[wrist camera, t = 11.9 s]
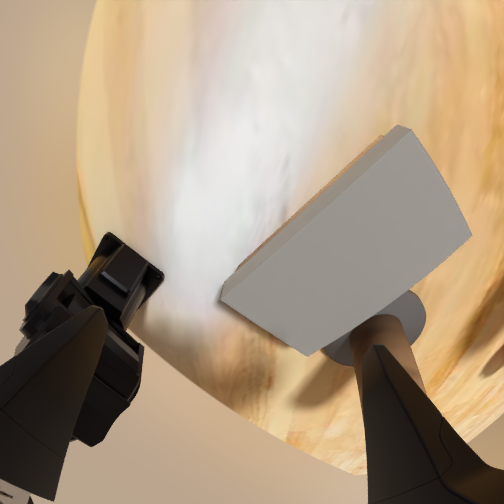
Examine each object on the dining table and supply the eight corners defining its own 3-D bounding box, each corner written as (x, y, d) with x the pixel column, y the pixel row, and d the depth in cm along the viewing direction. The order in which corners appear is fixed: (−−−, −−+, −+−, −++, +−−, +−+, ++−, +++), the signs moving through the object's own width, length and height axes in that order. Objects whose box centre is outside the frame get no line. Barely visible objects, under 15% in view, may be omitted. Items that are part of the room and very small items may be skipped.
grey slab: (304, 319, 26) (307, 356, 22) (229, 263, 23) (220, 299, 19) (444, 209, 19) (472, 235, 15) (383, 120, 16) (411, 129, 12)
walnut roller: (366, 358, 27) (387, 468, 16) (337, 336, 25) (355, 464, 14) (409, 330, 25) (446, 443, 14) (385, 304, 23) (427, 436, 12)
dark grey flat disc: (359, 372, 30) (360, 377, 29) (299, 332, 26) (299, 338, 26) (436, 322, 25) (439, 327, 24) (393, 265, 22) (396, 270, 21)
